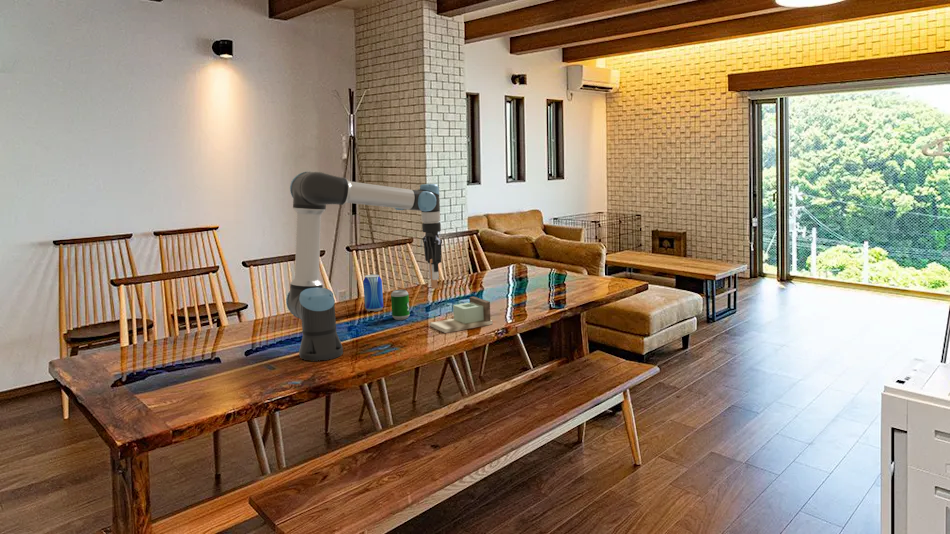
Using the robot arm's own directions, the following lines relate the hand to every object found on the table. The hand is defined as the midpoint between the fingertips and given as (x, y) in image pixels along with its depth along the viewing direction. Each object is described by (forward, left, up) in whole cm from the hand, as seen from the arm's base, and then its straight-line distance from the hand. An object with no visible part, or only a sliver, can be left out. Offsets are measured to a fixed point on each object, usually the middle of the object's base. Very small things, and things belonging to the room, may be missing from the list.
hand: (434, 278), depth 263 cm
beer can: (-12, +40, -19) cm, 45 cm away
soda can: (-8, +17, -19) cm, 27 cm away
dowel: (0, 0, -4) cm, 4 cm away
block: (+10, -10, -17) cm, 22 cm away
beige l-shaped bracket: (+7, -10, -19) cm, 22 cm away
